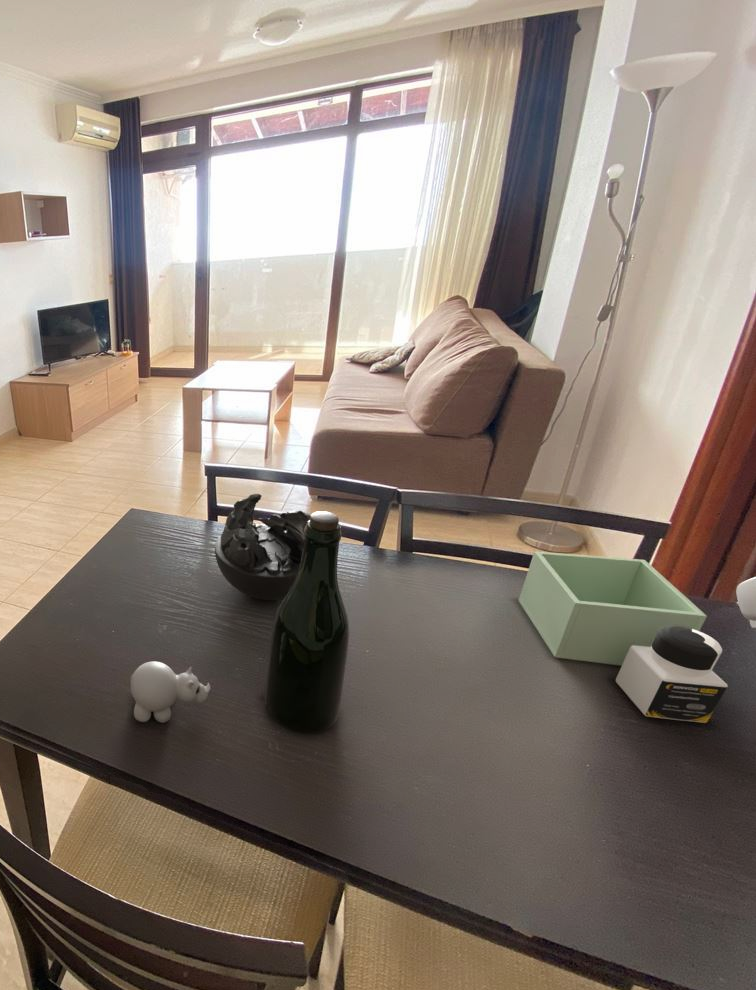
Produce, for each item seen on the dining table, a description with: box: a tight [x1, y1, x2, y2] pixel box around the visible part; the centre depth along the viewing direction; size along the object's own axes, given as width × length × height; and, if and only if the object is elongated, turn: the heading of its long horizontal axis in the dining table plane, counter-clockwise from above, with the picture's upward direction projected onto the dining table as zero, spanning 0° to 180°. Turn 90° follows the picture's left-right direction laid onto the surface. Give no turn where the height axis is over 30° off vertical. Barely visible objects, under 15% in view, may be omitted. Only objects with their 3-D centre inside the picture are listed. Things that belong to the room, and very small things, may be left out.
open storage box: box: [518, 550, 708, 667], centre depth 89 cm, size 16×16×11 cm
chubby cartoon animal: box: [129, 660, 211, 724], centre depth 81 cm, size 7×12×8 cm, turn 83°
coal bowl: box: [214, 492, 311, 601], centre depth 105 cm, size 20×20×19 cm
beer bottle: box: [264, 511, 350, 734], centre depth 74 cm, size 10×10×33 cm
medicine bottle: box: [615, 626, 729, 724], centre depth 75 cm, size 7×7×12 cm
